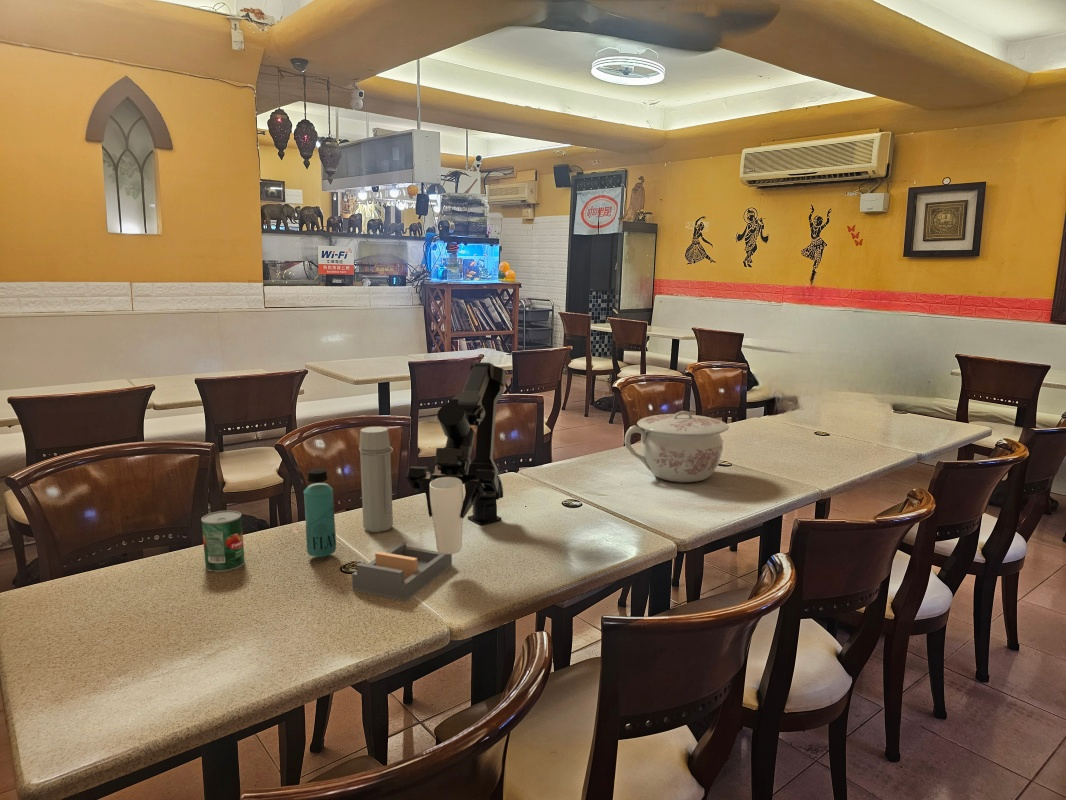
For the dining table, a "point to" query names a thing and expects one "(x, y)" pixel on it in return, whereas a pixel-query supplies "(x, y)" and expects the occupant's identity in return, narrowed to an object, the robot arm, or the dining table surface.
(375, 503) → the water bottle
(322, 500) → the beverage bottle
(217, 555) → the canned tomato
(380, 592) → the gray tray
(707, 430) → the chamber pot
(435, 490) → the drinking glass
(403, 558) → the block
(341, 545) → the dining table surface
